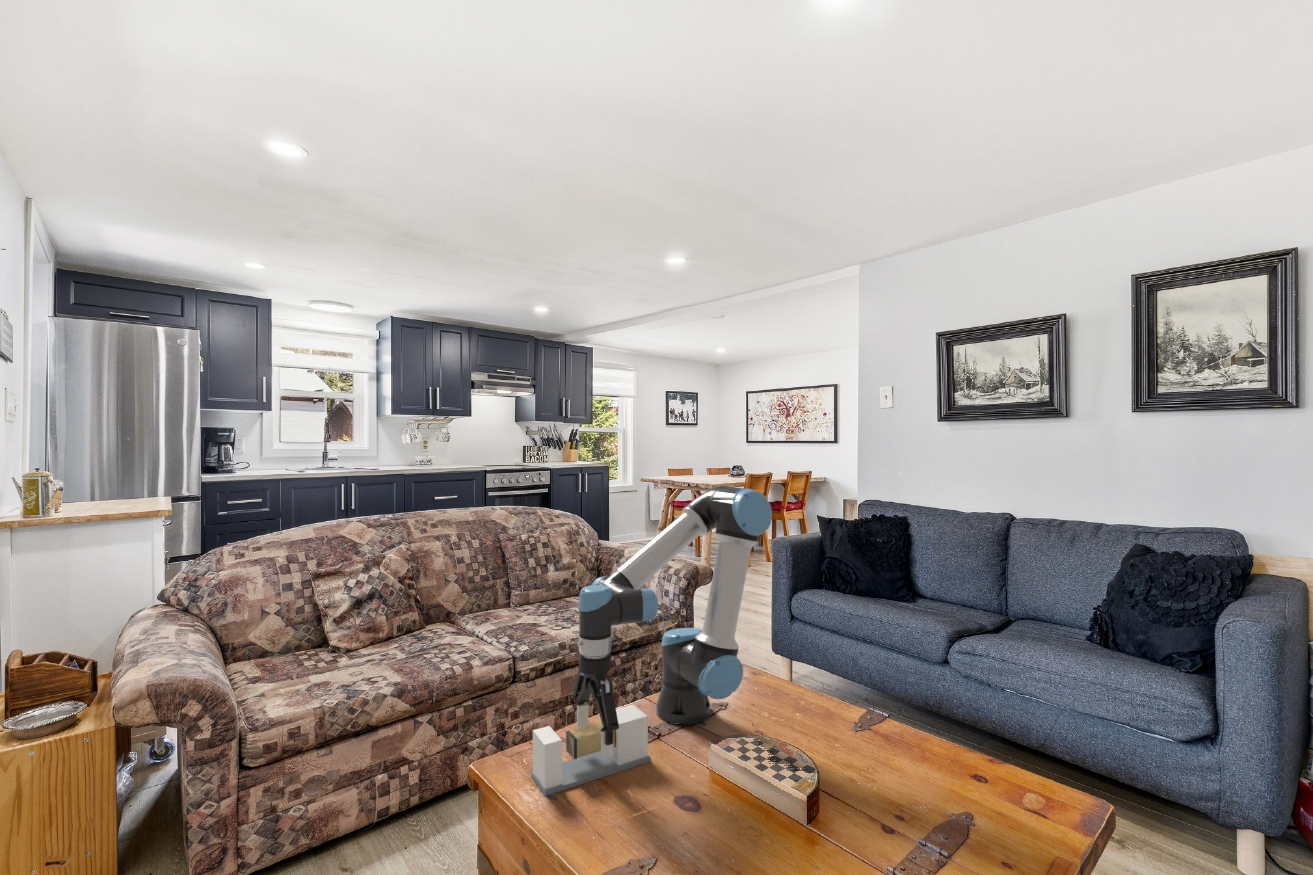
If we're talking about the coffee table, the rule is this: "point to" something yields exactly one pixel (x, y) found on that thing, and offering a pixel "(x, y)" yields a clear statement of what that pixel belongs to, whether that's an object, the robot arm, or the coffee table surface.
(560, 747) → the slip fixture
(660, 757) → the coffee table surface
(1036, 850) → the coffee table surface
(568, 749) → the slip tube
